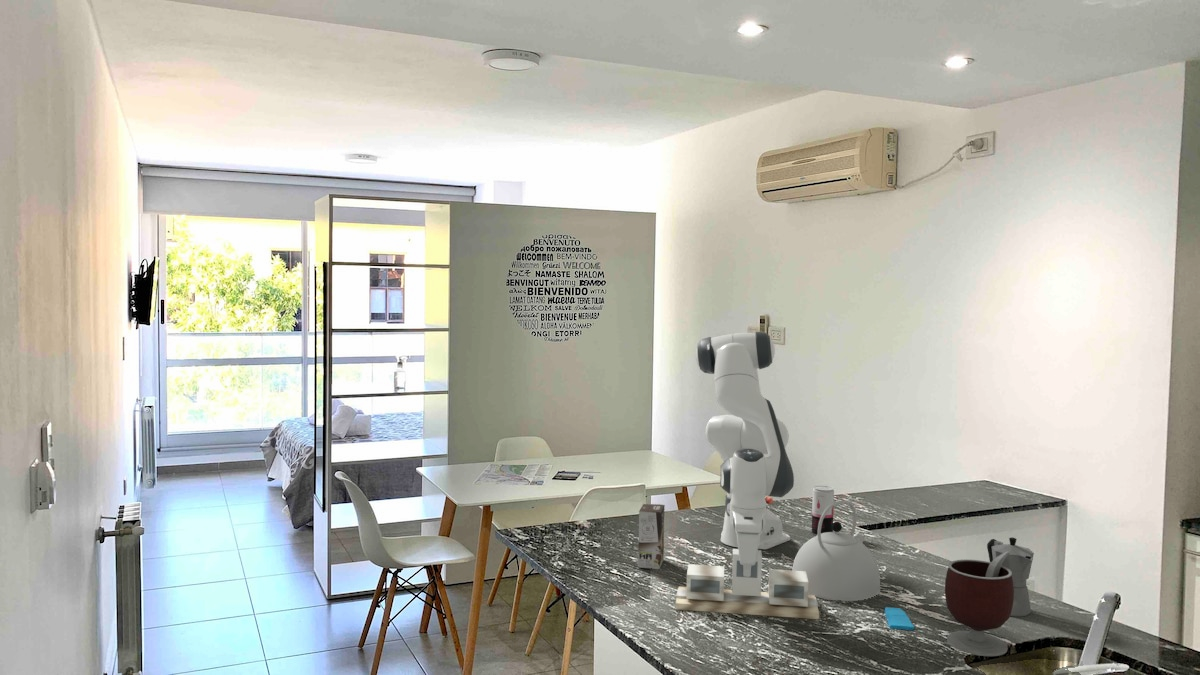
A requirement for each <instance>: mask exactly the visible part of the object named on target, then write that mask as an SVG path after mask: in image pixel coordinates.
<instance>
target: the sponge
mask: <svg viewBox="0 0 1200 675" xmlns="http://www.w3.org/2000/svg"><path fill="white" fill-rule="evenodd" d="M883 612H884V614H885V617H886V620H887V623H888V627H889V629H896V630H898V629H899V630H907V631H909V630H910V631H914V630H915V629H916V628H915V625H914V624H913V623H912V621H911V619H910V617H909V615H908V614H907V612H905V611H904V610H902V608H898V607H890V606H889V607H888V606H886V607H885V609H884V611H883Z"/></svg>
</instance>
